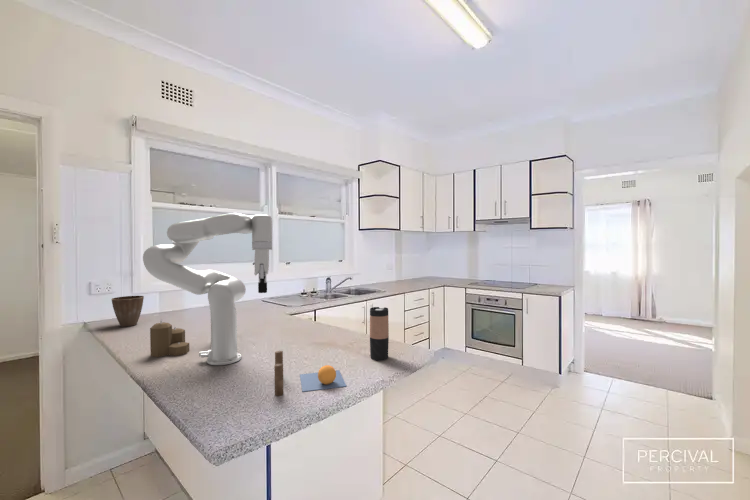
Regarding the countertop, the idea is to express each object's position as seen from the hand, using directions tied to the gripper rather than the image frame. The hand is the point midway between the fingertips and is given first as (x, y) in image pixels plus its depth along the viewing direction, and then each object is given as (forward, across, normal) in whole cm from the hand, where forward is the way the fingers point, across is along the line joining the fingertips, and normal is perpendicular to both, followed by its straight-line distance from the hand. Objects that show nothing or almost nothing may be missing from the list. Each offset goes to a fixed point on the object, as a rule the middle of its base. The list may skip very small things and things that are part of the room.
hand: (262, 292), depth 132 cm
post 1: (+27, +20, +6) cm, 34 cm away
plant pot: (+27, -83, -77) cm, 116 cm away
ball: (+24, +29, +21) cm, 43 cm away
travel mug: (+27, +10, +45) cm, 54 cm away
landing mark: (+27, +26, +20) cm, 43 cm away
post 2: (+27, +32, +6) cm, 43 cm away
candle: (+27, -22, -39) cm, 53 cm away
